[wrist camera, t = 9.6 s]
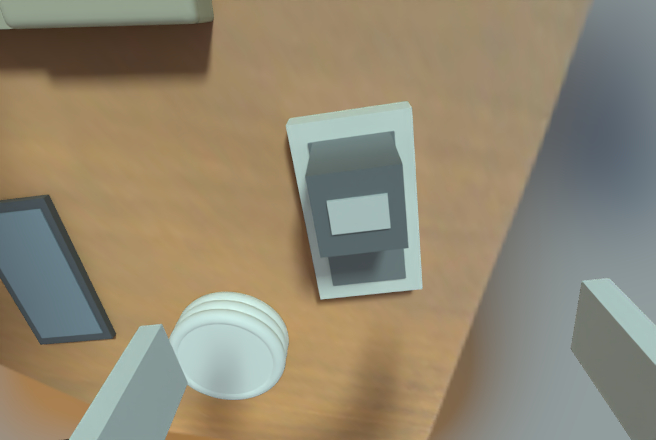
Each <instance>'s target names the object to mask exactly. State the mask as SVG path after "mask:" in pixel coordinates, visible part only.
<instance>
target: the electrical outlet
mask: <svg viewBox="0 0 656 440" xmlns="http://www.w3.org/2000/svg"><path fill="white" fill-rule="evenodd" d="M213 19H214V14H213V7H212V0H0V29H33V28H68V27H103V26H138V25H173V24H196V23H206V22H211V21H213Z"/></svg>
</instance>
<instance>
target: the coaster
mask: <svg viewBox="0 0 656 440" xmlns="http://www.w3.org/2000/svg"><path fill="white" fill-rule="evenodd" d="M169 341H170V343H171V346H172V348H173V350H174V352H175V355H176V357H177V359H178V361H179V364H180V366H181V368H182V371H183V373H184V375H185V377H186V380H187V382H188V383H187V385H189V386H190V387H191V388H193V389H195V390H197V391H198V392H201V393H203V394H205V395H208V396H211V397H215V398H220V399H227V400H240V399H247V398H251V397H255V396H258V395H261V394H263V393H265V392H267V391H268V390H269V389H271V388H272V387H273V386H274V385H275V384H276V383H277V382H278V381H279V379H280V377H281V375H282V374H283V371H284V369H285V364H286V357H287V350H288V345H289V337H288V331H287V328H286V325H285V323H284V321H283V320H282V318H281V317H280V315H279V314H278V313H277V312H276V311H275V310H274V309H273V308H272V307H270V306H269V305H268V304H266V303H265V302H263V301H261V300H259V299H257V298H255V297H252V296H250V295H246V294H243V293H237V292H216V293H210V294H207V295H204V296H202V297H200V298H198V299H196V300H195V301H193V302H192V303H191V304H190V305H189V306H187V307H186V309H185V310H184V311H183V313H182V314H181V316H180V319H179V320H178V322H177V324H176V326H175V328H174V330H173V331H172V333H171V335H170V338H169Z"/></svg>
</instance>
